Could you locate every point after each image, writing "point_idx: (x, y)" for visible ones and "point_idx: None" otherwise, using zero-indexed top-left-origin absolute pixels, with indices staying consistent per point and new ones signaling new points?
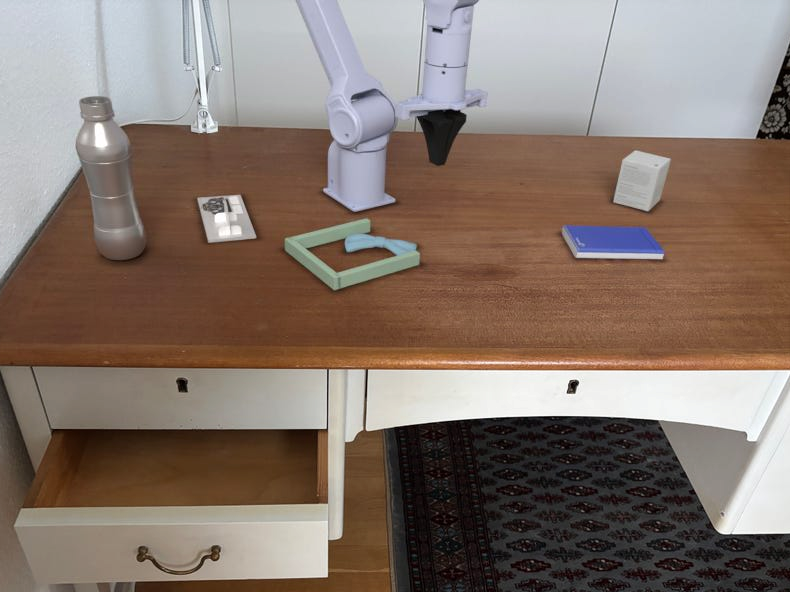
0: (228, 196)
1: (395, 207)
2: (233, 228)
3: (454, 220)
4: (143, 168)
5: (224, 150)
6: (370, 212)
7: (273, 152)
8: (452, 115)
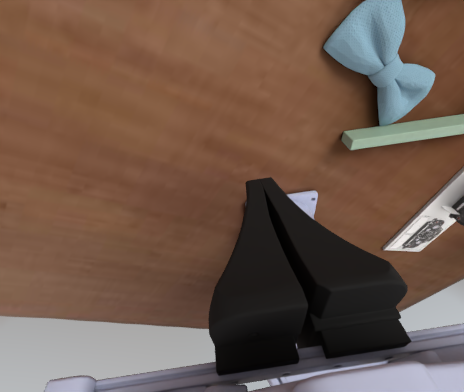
0: (396, 248)
1: None
2: None
3: (189, 120)
4: None
5: None
6: (294, 185)
7: None
8: (290, 325)
